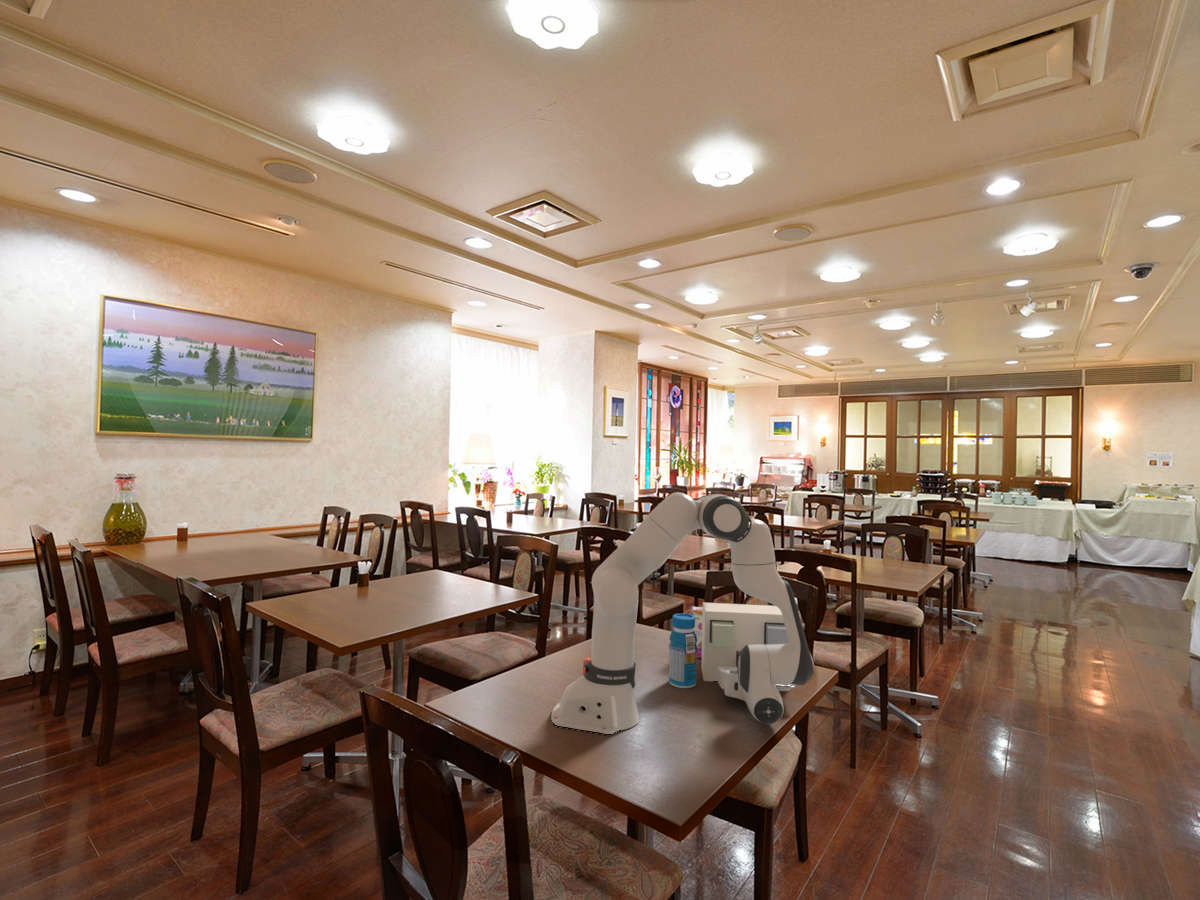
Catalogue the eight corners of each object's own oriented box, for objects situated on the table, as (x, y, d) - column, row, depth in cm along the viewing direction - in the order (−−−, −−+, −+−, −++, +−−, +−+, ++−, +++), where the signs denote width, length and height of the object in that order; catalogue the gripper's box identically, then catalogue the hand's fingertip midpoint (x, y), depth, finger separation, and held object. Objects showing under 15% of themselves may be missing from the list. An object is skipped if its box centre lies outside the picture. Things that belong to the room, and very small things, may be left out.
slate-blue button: (768, 648, 170) (768, 628, 170) (764, 642, 176) (764, 622, 176) (789, 649, 169) (789, 629, 169) (784, 643, 175) (785, 623, 175)
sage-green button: (712, 645, 172) (712, 625, 172) (710, 639, 178) (711, 619, 178) (733, 646, 171) (733, 626, 171) (730, 640, 177) (731, 620, 177)
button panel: (703, 680, 176) (705, 611, 176) (701, 668, 186) (702, 602, 186) (792, 686, 173) (793, 615, 173) (785, 673, 183) (786, 606, 184)
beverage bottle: (666, 687, 170) (667, 618, 170) (670, 676, 179) (671, 611, 179) (695, 690, 168) (697, 621, 168) (697, 679, 176) (699, 613, 177)
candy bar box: (690, 659, 194) (691, 609, 195) (689, 654, 199) (690, 606, 200) (724, 661, 193) (725, 611, 193) (722, 655, 198) (723, 607, 198)
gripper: (797, 676, 156) (786, 658, 170) (720, 672, 158) (715, 654, 172) (797, 700, 156) (785, 680, 170) (719, 695, 158) (714, 676, 172)
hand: (749, 667), depth 171 cm, fingers closed
